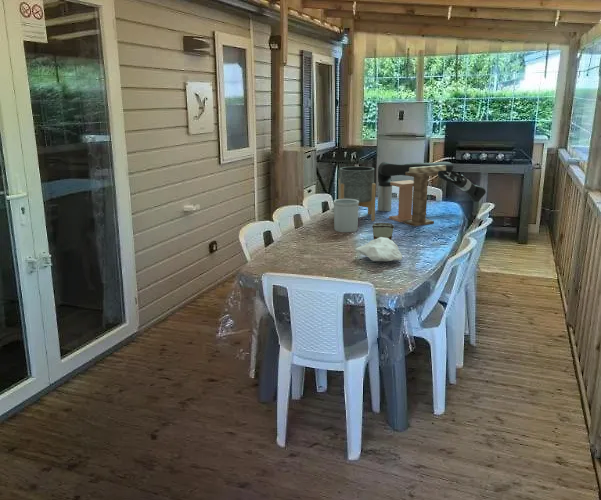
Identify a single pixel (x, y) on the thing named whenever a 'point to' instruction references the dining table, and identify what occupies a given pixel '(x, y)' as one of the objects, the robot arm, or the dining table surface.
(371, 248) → the crumpled cloth
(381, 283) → the dining table surface
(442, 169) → the beech bar
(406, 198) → the terracotta base stand
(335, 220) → the utensil holder
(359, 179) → the planter
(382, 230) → the food container
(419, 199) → the walnut base stand
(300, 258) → the dining table surface
